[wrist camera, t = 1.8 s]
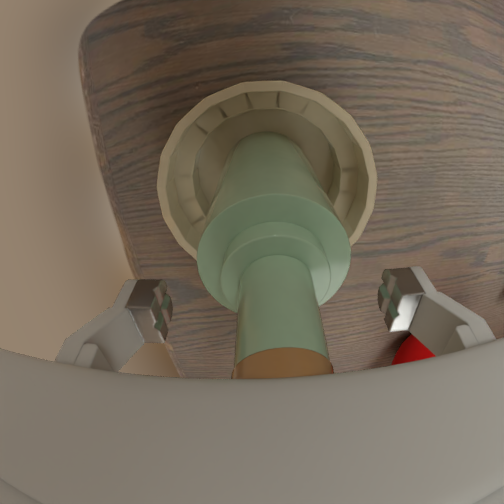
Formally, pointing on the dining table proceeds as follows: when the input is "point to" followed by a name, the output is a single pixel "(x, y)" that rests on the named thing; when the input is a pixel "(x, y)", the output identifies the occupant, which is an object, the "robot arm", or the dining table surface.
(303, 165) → the bottle
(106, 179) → the dining table surface
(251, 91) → the bowl
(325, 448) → the robot arm
